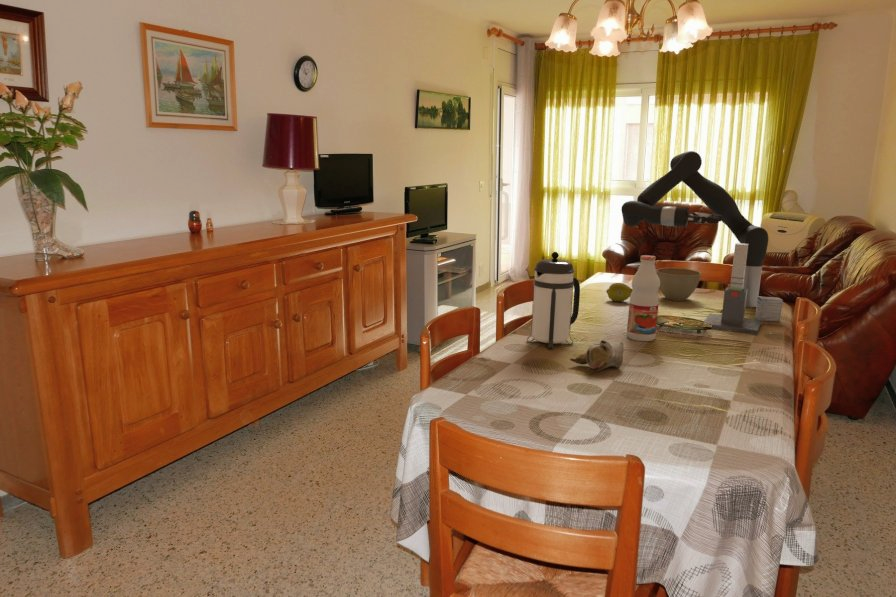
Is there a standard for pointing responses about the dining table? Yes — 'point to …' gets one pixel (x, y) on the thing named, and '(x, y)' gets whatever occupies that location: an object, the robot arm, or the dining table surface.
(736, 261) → the column
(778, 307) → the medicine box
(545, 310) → the coffee press
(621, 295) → the lemon
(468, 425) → the dining table surface
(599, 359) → the ceramic sculpture
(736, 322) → the stand
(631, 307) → the fruit juice
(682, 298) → the beige bowl
